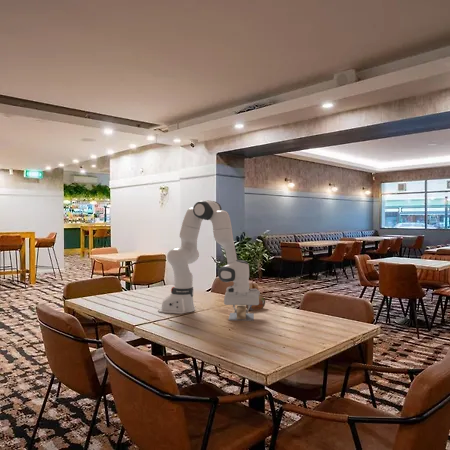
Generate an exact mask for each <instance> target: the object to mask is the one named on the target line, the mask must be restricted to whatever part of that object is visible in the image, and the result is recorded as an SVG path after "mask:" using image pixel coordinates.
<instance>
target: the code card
mask: <svg viewBox="0 0 450 450" xmlns="http://www.w3.org/2000/svg"><path fill="white" fill-rule="evenodd" d="M254 317H255V314H254V312H252V313H250V312H248V313H246V319H237V313H235V312H229V317H228V321H232V322H233V321H237V322H238V321H239V322H241V321H242V322H245V321H247V322H254V320H255V319H254Z"/></svg>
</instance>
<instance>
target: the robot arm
mask: <svg viewBox="0 0 450 450" xmlns="http://www.w3.org/2000/svg"><path fill="white" fill-rule="evenodd" d="M204 220H205V221H210V222H211V224H212V232H213V238H214V241H215V242H216V243H217V244H219V245H220V246H221V248H223V249H224V252H225V257H226V262H227V264H225V265H222V266H221V267H220V268H219V269H218V272H217V276H218V278H219V280H220V281H221V282H224V283H230V282H233V285H229V286H227V287H226V289H225V293H224V298H223V304H224V305H225V306H232V308H233V310H234V313H237V307H236V306H237V305H248V309H247V308H246V313H249V311H250V310H249V308H250V305H259V296H261V295H260V294H261V292H260V290H259V289H257V288H250V281H249V278H250V265H249V263H248V261H246V260H244V259H243V260H242V259H238V254H237V249H236V244H235V241H234V236H233V227H232V221H231V216H230V214H229V213H228V212H227V211H226V210H223V209H222V206H221V204H220V203H218V202H217V201H214V200H198V201H197V202H196V203H195V204H194V205H193V207H190V208H188V209H187V210H186V211H185V215H184V217H183V220H182V224H181V228H180V231H179V239H180V240H181V245H180V246H179V247H175V248H173V249H170V250H169V251H168V253H167V256H166V257H167V262H168V264H169V265H170V266H171V267H172V271H173V275H174V277H173V278H174V286H172V287H171V289H170V294H169V295H168V296H166V297H165V298H164V299H163V300H162V302H161V306H160V307H158V309H157V312H158V313H165V314H180V315H181V314H185V313H192V312H195V311H196V308H195V303H194V287H193V284H194V283H193V278H194V277H193V273H192V272H191V270H190V268H189V265H190V264H193V263H195V262H197V260H198V259H199V257H200V252H199V249H198V237H199V234H200V228H201V227H202V222H203V221H204Z"/></svg>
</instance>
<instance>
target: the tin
mask: <svg viewBox="0 0 450 450" xmlns="http://www.w3.org/2000/svg"><path fill="white" fill-rule="evenodd" d="M265 305H266V299H265V297H264V296H263V295H259V305H250V308H249V310H248V311H256V310H257V311H258V310H262V309H264V307H265ZM246 309H248V305H246Z"/></svg>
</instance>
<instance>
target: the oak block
mask: <svg viewBox="0 0 450 450" xmlns="http://www.w3.org/2000/svg"><path fill="white" fill-rule="evenodd" d="M236 309H237V319H246V309H247V308H246V305H236Z"/></svg>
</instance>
